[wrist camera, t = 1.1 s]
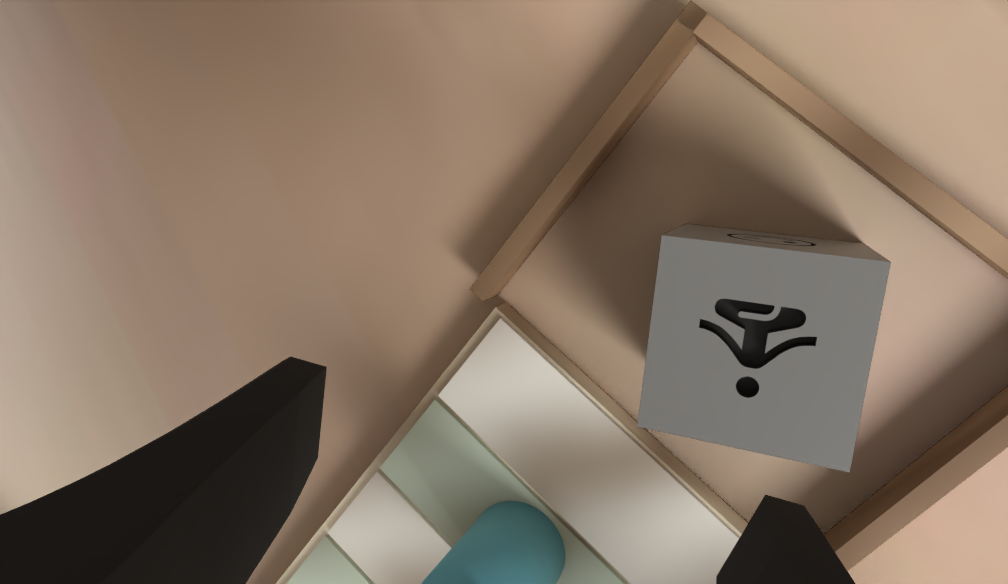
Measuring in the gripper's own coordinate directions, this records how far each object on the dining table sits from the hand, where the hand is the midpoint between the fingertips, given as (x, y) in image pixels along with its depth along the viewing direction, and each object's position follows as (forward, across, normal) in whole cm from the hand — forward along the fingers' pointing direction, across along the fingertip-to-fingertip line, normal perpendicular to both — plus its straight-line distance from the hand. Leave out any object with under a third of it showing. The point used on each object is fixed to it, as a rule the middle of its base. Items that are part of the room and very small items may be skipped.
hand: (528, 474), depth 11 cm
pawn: (+8, -1, +11) cm, 14 cm away
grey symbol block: (+11, -6, +2) cm, 13 cm away
